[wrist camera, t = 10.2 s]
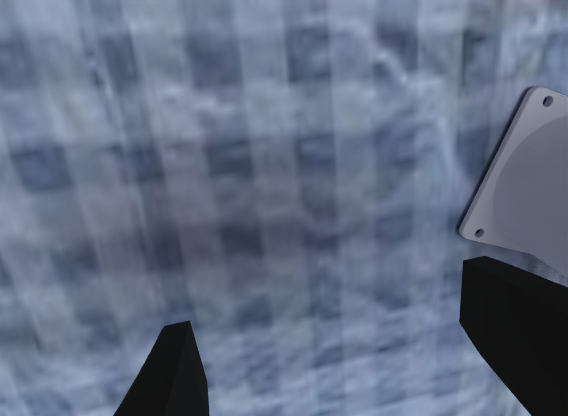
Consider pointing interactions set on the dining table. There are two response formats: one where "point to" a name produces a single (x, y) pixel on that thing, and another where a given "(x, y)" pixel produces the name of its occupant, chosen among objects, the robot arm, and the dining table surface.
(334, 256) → the dining table surface
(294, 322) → the dining table surface
